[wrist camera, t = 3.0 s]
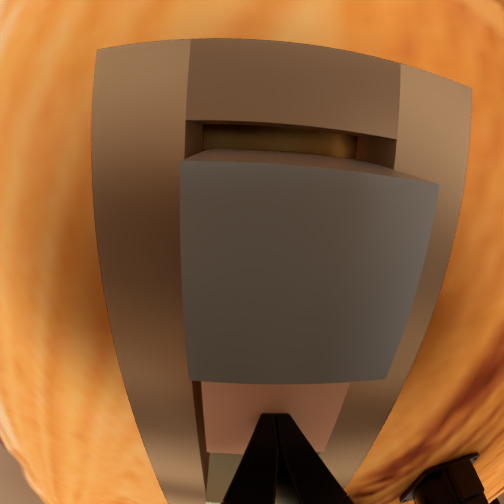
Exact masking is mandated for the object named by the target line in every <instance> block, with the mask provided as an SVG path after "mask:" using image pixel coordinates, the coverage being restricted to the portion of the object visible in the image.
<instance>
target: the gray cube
mask: <svg viewBox="0 0 504 504" xmlns="http://www.w3.org/2000/svg"><path fill="white" fill-rule="evenodd" d="M438 191H439V184H436V183H433V182H431V181H428V180H425V179H422V178H419V177H416V176H413V175H410V174H406V173H403V172H400V171H397V170H394V169H390V168H387V167H384V166H380V165H377V164H373V163H370V162H366V161H363V160H358V159H350V158H342V157H334V156H325V155H316V154H305V153H294V152H282V151H267V150H250V149H226V148H211V149H208V150H206V151H203V152H201V153H198V154H195V155H193V156H190V157H188V158H185V159H183V160H180V246H181V276H182V297H183V315H184V330H185V343H186V356H187V367H188V378H189V380H192V381H204V382H219V383H239V384H325V383H345V382H359V381H371V380H382V379H386V377H387V374H388V372H389V370H390V367H391V364H392V362H393V359H394V357H395V354H396V351H397V349H398V346H399V343H400V340H401V338H402V335H403V332H404V329H405V326H406V323H407V320H408V317H409V314H410V311H411V307H412V304H413V301H414V298H415V294H416V291H417V287H418V284H419V280H420V276H421V273H422V269H423V265H424V261H425V257H426V253H427V248H428V244H429V239H430V235H431V230H432V225H433V220H434V215H435V209H436V204H437V198H438Z"/></svg>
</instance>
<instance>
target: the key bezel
mask: <svg viewBox="0 0 504 504" xmlns="http://www.w3.org/2000/svg"><path fill="white" fill-rule="evenodd" d="M471 112H472V88H470V87H468V86H465V85H463V84H460V83H458V82H455V81H452V80H450V79H447V78H444V77H441V76H439V75H436V74H433V73H430V72H427V71H424V70H421V69H418V68H414V67H411V66H408V65H404V64H401V63H397V62H394V61H390V60H386V59H382V58H378V57H374V56H369V55H365V54H360V53H356V52H351V51H346V50H340V49H335V48H329V47H323V46H316V45H309V44H301V43H292V42H283V41H271V40H256V39H227V38H210V39H181V40H166V41H154V42H145V43H136V44H129V45H122V46H115V47H109V48H103V49H98V50H97V54H96V63H95V73H94V86H93V102H92V134H91V155H92V187H93V204H94V217H95V228H96V238H97V247H98V255H99V263H100V270H101V277H102V283H103V289H104V295H105V301H106V307H107V312H108V317H109V322H110V327H111V332H112V336H113V341H114V345H115V349H116V354H117V358H118V362H119V366H120V370H121V373H122V377H123V381H124V384H125V388H126V392H127V395H128V398H129V402H130V405H131V408H132V411H133V415H134V418H135V421H136V424H137V427H138V430H139V433H140V435H141V438H142V441H143V444H144V447H145V449H146V452H147V455H148V457H149V460H150V462H151V465H152V468H153V470H154V472H155V475H156V477H157V480H158V482H159V484H160V487H161V489H162V491H163V494H164V496H165V498H166V500H167V502H168V504H206V491H207V479H208V468H209V457H210V452H207V448H206V437H205V426H204V414H203V401H202V387H201V381H192V380H189V378H188V367H187V356H186V343H185V330H184V315H183V297H182V276H181V246H180V160H183V159H185V158H188V157H190V156H193V155H195V154H198V153H201V152H203V129H204V124H226V125H251V126H267V127H281V128H293V129H303V130H313V131H321V132H330V133H337V134H345V135H352V136H357V146H356V157H355V159H358V160H363V161H366V162H370V163H373V164H377V165H380V166H384V167H387V168H390V169H394V170H397V171H400V172H403V173H406V174H410V175H413V176H416V177H419V178H422V179H425V180H428V181H431V182H433V183H436V184H439V191H438V198H437V204H436V209H435V215H434V220H433V225H432V230H431V235H430V239H429V244H428V248H427V253H426V257H425V261H424V265H423V269H422V273H421V276H420V280H419V284H418V287H417V291H416V294H415V298H414V301H413V304H412V307H411V311H410V314H409V317H408V320H407V323H406V326H405V329H404V332H403V335H402V338H401V340H400V343H399V346H398V349H397V351H396V354H395V357H394V359H393V362H392V364H391V367H390V370H389V372H388V374H387V377H386V379H382V380H371V381H359V382H350V385H349V388H348V391H347V394H346V396H345V399H344V402H343V405H342V407H341V410H340V413H339V415H338V418H337V420H336V423H335V425H334V428H333V430H332V433H331V435H330V438H329V440H328V443H327V445H326V447H325V450H324V452H317V454H318V455H319V457H320V458H321V459H322V461H323V462H324V463H325V465H326V466H327V468H328V469H329V470H330V472H331V473H332V474H333V476H334V477H335V478H336V480H337V481H338V482H339V484H340V485H341V486H342V488H343V489H344V488H345V487H346V486H347V484H348V483H349V481H350V480H351V478H352V477H353V475H354V474H355V472H356V471H357V469H358V467H359V466H360V464H361V463H362V461H363V460H364V458H365V456H366V455H367V453H368V451H369V450H370V448H371V446H372V445H373V443H374V441H375V439H376V438H377V436H378V434H379V432H380V431H381V429H382V427H383V425H384V423H385V422H386V420H387V418H388V416H389V414H390V412H391V410H392V408H393V406H394V404H395V402H396V400H397V398H398V396H399V394H400V392H401V390H402V388H403V386H404V383H405V381H406V379H407V377H408V375H409V372H410V370H411V368H412V366H413V363H414V361H415V358H416V356H417V354H418V351H419V349H420V346H421V344H422V341H423V339H424V336H425V333H426V331H427V328H428V325H429V322H430V320H431V317H432V314H433V311H434V308H435V305H436V302H437V299H438V296H439V293H440V289H441V286H442V283H443V279H444V276H445V272H446V269H447V265H448V262H449V258H450V254H451V250H452V246H453V242H454V237H455V233H456V228H457V223H458V219H459V214H460V208H461V203H462V197H463V191H464V185H465V178H466V170H467V162H468V153H469V143H470V130H471Z"/></svg>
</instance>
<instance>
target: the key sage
mask: <svg viewBox="0 0 504 504" xmlns="http://www.w3.org/2000/svg"><path fill="white" fill-rule="evenodd" d="M242 457H243V454H227V453H211V452H210V457H209V468H208V479H207V491H206V504H221V502H223V498H224V496H225V494H226V492H227V490H228V487H229V485H230V483H231V481H232V479H233V477H234V474H235V472H236V470H237V468H238V466H239V463H240V461H241V459H242ZM275 504H277V500H276V499H275Z"/></svg>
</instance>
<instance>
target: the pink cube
mask: <svg viewBox="0 0 504 504" xmlns="http://www.w3.org/2000/svg"><path fill="white" fill-rule="evenodd" d="M349 385H350V382H345V383H325V384H239V383H219V382H204V381H201V387H202V401H203V414H204V426H205V437H206V448H207V452H211V453H227V454H244V452H245V450H246V447H247V445H248V443H249V441H250V438H251V436H252V433H253V431H254V429H255V426H256V424H257V422H258V419H259V417H260V415H261V414H262V413H273V414H276V413H288V414H290V415H291V417H292V418H293V419H294V421H295V422H296V424H297V425H298V427H299V428H300V430H301V431H302V433H303V434H304V435H305V437H306V438H307V440H308V441H309V443H310V444H311V445H312V447H313V448H314V450H315V451H316V452H324V450H325V447H326V445H327V443H328V440H329V438H330V435H331V433H332V430H333V428H334V425H335V423H336V420H337V418H338V415H339V413H340V410H341V407H342V405H343V402H344V399H345V396H346V394H347V391H348V388H349Z"/></svg>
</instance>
